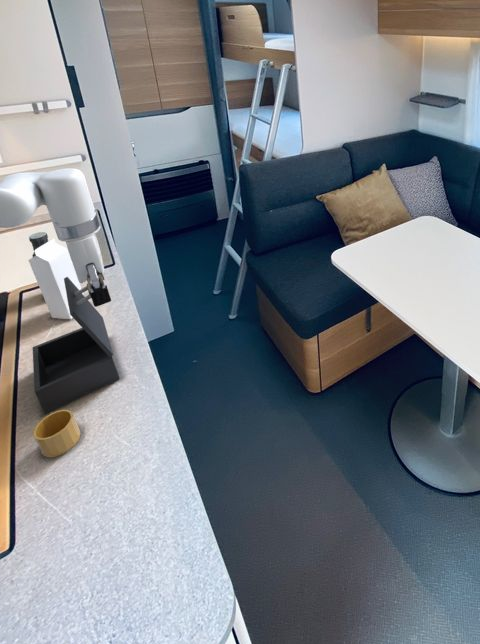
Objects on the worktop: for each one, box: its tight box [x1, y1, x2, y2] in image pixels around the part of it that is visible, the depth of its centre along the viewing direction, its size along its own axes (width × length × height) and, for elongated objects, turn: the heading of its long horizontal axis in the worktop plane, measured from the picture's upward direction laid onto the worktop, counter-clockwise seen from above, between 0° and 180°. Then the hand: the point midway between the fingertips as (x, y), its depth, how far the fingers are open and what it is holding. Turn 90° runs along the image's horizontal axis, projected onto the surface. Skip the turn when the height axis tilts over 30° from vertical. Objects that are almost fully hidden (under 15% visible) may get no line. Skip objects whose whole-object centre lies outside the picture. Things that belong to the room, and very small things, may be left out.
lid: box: [64, 277, 114, 357], centre depth 94 cm, size 15×16×5 cm
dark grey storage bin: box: [32, 327, 120, 415], centre depth 94 cm, size 14×16×6 cm
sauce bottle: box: [28, 231, 50, 258], centre depth 119 cm, size 6×6×20 cm
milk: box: [28, 238, 85, 320], centre depth 111 cm, size 6×6×22 cm
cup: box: [32, 409, 81, 458], centre depth 79 cm, size 6×6×5 cm
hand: (99, 292), depth 93 cm, fingers open, 9 cm apart
